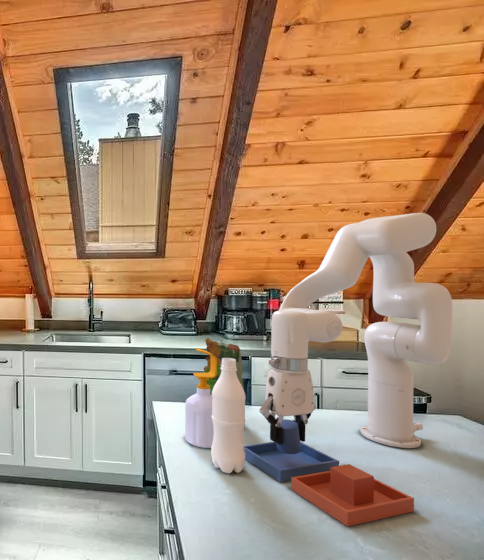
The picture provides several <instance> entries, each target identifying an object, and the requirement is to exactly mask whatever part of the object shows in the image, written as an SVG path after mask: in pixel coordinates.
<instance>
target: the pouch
mask: <svg viewBox="0 0 484 560" xmlns="http://www.w3.org/2000/svg"><path fill="white" fill-rule="evenodd" d="M204 342H205V345H206V348H205V351H208V352H210V353H211V354H213V355H214V356H216V358H217V375H216V377H215V378H209V380H208V381H207V385H209V386H210V395H211V396H212V391H213V388H214V386H215V384H216V382H217V380H218V379H219V377H220V375H221V369H220V368H221V367H222V366H221V365H222V358H233V359H236V369H237V371H236V375H237V378H238V380H239V382H240V384H241V385H242V388H243V390H244V391H245V385H244V382H243V381H244V380H243V372H244V369H243V368H244V366H243V365H244V364H243V359H242V353H241V348H240V346H239V345H237V344H234V343H226V342H223V341H222V340H220V342H219V341H215V340H212V339H211V338H210V337H207V338H205V339H204ZM206 355H207V356H205V357H204V358H205V361H207V363H206V364H207V365H205V366H204V367H203V373H209V372H210V363H211V358H210V355H208V354H206ZM245 424H246V423H245ZM245 424H244V427H245Z"/></svg>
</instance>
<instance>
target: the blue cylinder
mask: <svg viewBox="0 0 484 560" xmlns="http://www.w3.org/2000/svg"><path fill="white" fill-rule="evenodd" d="M292 420H293V419H287V418H286V419H285V418H283V420H282V424H281V427H283V444H282V445H279V444H277V443H276V445H277V449H278V450H279V451H280V452H283V453H286V454H297V453H299V452H300V451H301V445H300V442H301V441H300V436H299V427H298V424H297V423H296V422H295V421H292Z"/></svg>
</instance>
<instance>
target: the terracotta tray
mask: <svg viewBox="0 0 484 560" xmlns="http://www.w3.org/2000/svg"><path fill="white" fill-rule="evenodd" d="M290 481H291V483H290V490H292V491H293V492H295V493H296V494H298V495H299V496H301V497H302V498H303V499H305V500H306V501H309V502H310V503H311V504H313V505H314V506H316V507H317V508H319V509H320V510H322V511H323V512H324V513H327V514H328V515H330V516H331V517H333V518H334V519H335V520H337V521H338V522H340V523H342V524H343V525H345V526H346V527H350V526H355V525H360V524H364V523H368V522H369V523H370V522H373V521H377V520H382V519H386V518H390V517H395V516H399V515H403V514H409V513H412V512H414V511H415V498H414V497H412V496H411V495H409V494H406V493H405V492H402V491H401V490H398V489H396V488H395V487H393V486H390V485H389V484H387V483H384V482H382V481H380V480H379V479H377V478H374V501H373V502H370V503H365V504H360V505H355V506H354V505H352V504H350V503H348V502H347V501H345V500H343V499H342V498H340V497H338V496H337V495H335V494H333V493H332V492H330V471H326V472H320V473H314V474H308V475H303V476H297V477H291V480H290Z"/></svg>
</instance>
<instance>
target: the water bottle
mask: <svg viewBox="0 0 484 560" xmlns="http://www.w3.org/2000/svg"><path fill="white" fill-rule="evenodd" d="M221 366H222V367H221V368H220V369H221V375H220V377H219V379H218V380H217V382H216V384H215V386H214V388H213V391H212V421H213V427H214V436H213V443H212V447H211V448H210V449H211V451H210V455H211V461H212V464H213V465H214V468H216V469H220V471H221V472H223V473H226V474H231V473H232V472H235V473H237V474H238V473H241V472H242V470H243V469H244V466H245V463H246V459H245V450H244V446H245V445H244V429H245V426H244V424H246V399H247V398H246V392H245V389H244V390H243V388H242V385H241V384H240V382H239V380H238V378H237V375H236V371H237V369H236V359H233V358H222V365H221Z"/></svg>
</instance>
